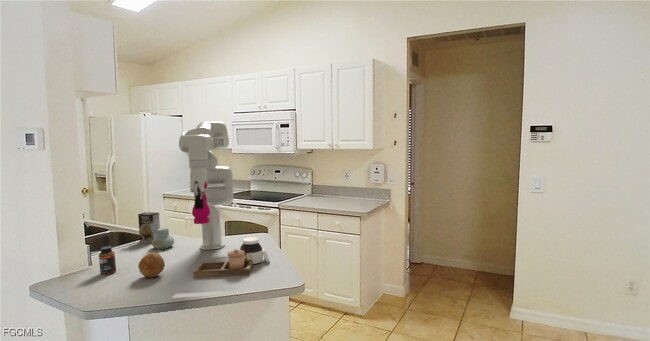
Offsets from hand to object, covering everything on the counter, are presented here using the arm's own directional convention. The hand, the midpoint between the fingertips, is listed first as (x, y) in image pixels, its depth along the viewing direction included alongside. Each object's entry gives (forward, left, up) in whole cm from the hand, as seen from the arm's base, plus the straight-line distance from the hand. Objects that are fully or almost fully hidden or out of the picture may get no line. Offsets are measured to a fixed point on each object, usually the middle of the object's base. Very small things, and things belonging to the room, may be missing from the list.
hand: (201, 207), depth 157 cm
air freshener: (-41, -31, -28) cm, 59 cm away
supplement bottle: (-5, -42, -28) cm, 51 cm away
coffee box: (-55, -43, -28) cm, 75 cm away
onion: (+2, -21, -28) cm, 35 cm away
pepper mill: (0, 0, -7) cm, 7 cm away
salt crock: (+4, +14, -27) cm, 31 cm away
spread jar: (-7, +21, -28) cm, 36 cm away
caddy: (+4, +9, -28) cm, 30 cm away
